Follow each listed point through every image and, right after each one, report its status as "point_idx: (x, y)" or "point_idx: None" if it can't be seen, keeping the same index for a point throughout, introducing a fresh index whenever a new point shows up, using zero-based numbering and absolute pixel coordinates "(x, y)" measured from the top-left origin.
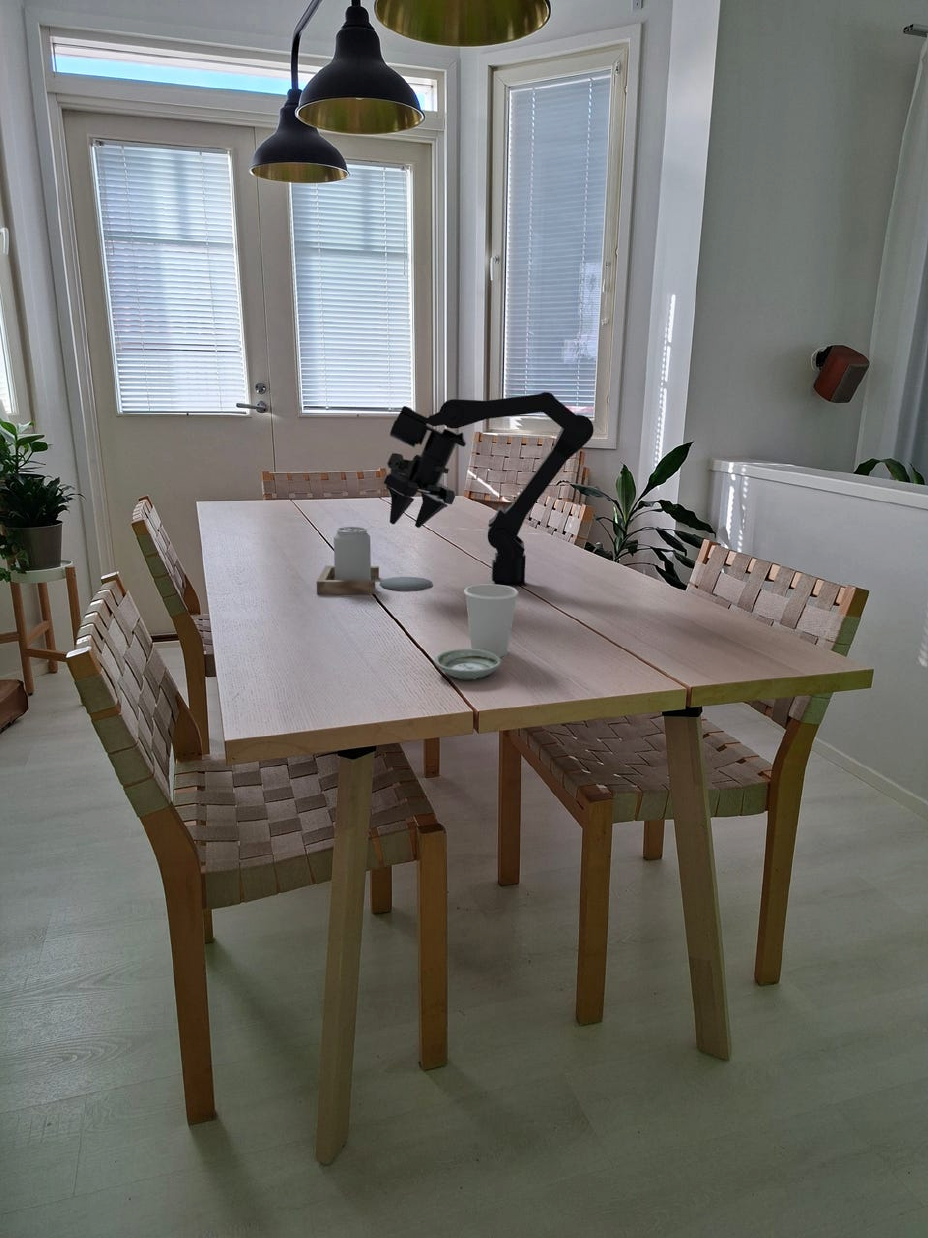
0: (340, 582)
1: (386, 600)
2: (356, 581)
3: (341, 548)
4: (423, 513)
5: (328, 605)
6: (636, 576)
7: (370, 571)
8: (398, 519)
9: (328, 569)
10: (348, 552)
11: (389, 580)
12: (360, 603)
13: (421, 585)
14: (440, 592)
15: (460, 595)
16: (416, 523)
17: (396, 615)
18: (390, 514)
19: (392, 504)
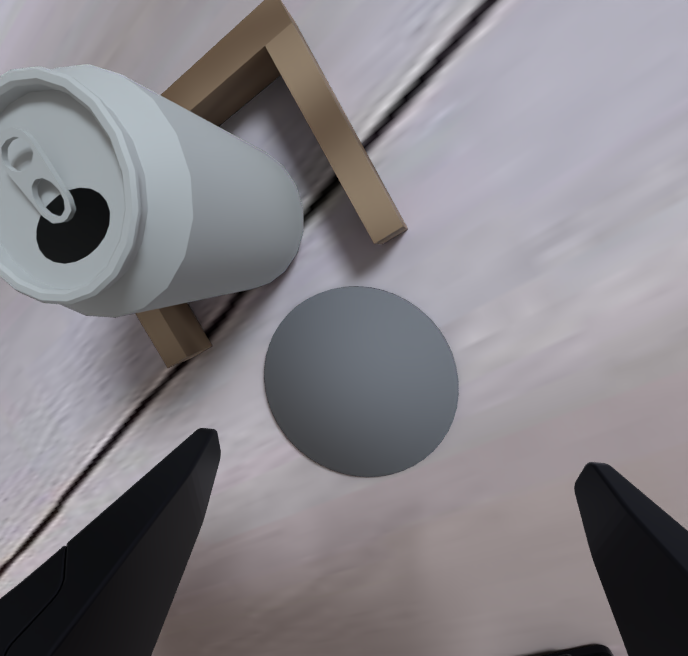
0: None
1: (163, 419)
2: None
3: (50, 207)
4: (674, 639)
5: (41, 306)
6: None
7: (247, 287)
8: (197, 521)
9: (221, 71)
10: (78, 247)
11: (353, 314)
12: (101, 371)
13: (347, 451)
14: (324, 524)
15: (324, 586)
16: (597, 488)
17: (78, 499)
18: (145, 476)
19: (35, 589)
